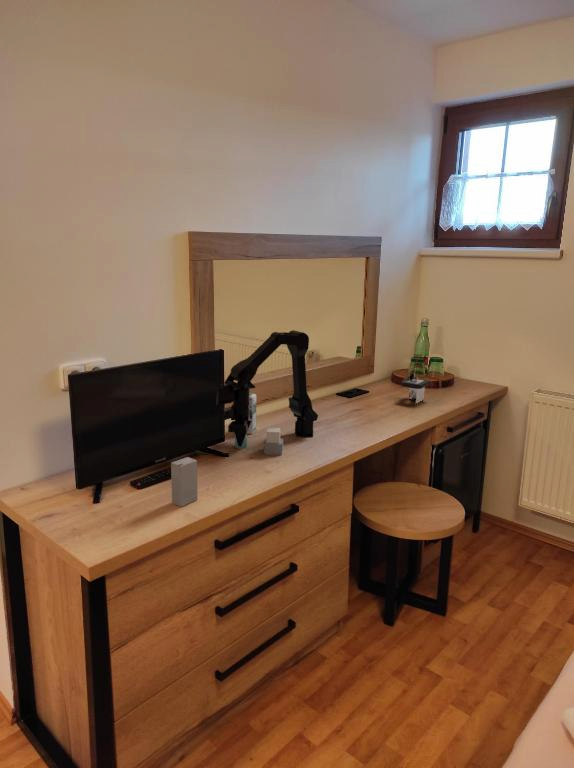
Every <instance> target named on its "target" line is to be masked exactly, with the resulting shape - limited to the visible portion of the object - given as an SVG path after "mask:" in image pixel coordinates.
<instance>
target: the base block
mask: <svg viewBox="0 0 574 768" xmlns="http://www.w3.org/2000/svg"><path fill="white" fill-rule="evenodd" d="M283 450H284V438H282V437H280V442H279V443H266V439H265V441H264V450H263V451H264V452H263V453H264V455H276V456H279V455H280V456H282V455H283Z"/></svg>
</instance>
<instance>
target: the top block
mask: <svg viewBox="0 0 574 768" xmlns="http://www.w3.org/2000/svg"><path fill="white" fill-rule="evenodd" d="M265 436H266V437H265V440H266V443H279V442H280V438H281V428H280V427H267V429H266V435H265Z"/></svg>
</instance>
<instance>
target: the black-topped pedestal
mask: <svg viewBox="0 0 574 768" xmlns="http://www.w3.org/2000/svg"><path fill="white" fill-rule="evenodd" d="M415 373H416V372H415V371H414V372H412V373H409V375H408V376H406V378H404V379H403V380H402V381H401V387H403V388H409V393H408V400H409V399H411V400H413V399H412V398H416V400H415V404H416V403H418V402H420V401H422V400H423V399H424V398H425V389H426V387H427V386H430V385H431V380H430V379H426V378H418V376H415V375H416V374H415ZM424 400H425V399H424Z"/></svg>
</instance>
